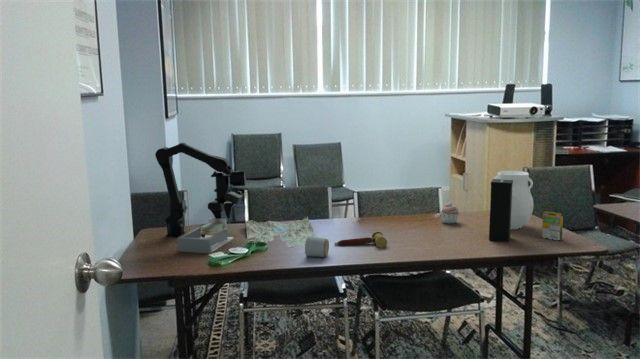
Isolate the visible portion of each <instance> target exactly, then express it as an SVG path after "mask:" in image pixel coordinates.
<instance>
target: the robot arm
mask: <svg viewBox="0 0 640 359" xmlns="http://www.w3.org/2000/svg"><path fill="white" fill-rule="evenodd" d="M181 153H183V154H184V155H187V156H188V157H190V158H194V159H195V160H198V161H200V162H202V163H204V164H206V165H208V167H210V168H211V169H213V170H214V171H213V173H212V174H211V175H210V177H211V178H215V188H214V190H213V192H215V193H216V198H214V200H213V201H210V202H209V203H208V204H207V209H208V210H209V211H210V212H211V213H212V214H213V216H214V218H218V219H222V215H223V212H224V213H225V216H226V219H230V218H231V215H232V211H233V207H234V206H235V205H238V204H240V203H241V201H242V199H244V197H243V192H242V191H240V190H238V191H232V187H246V186H247V177H246V174H245V172H246V171H245V170H236V171H235V170H234V169H233V168H232V167H231V166H230V165H229V164H230V163H229V161H228V159H226V157H222V156H219V155H212V154H209V153H207V152H205V151H204V150H200V149H198V148H196V147H194V146H191V145H189V144H187V143H186V142H180V143H177V145H176V144H175V145H173V146H170V147H167V146H166V147H165V146H164V147H161V148H159V149H157V150H156V152H155V159H156V160H157V164H158V165H159V166H160V168H161V169H162V173H163V177H164V180H165V184H166V189H167V194H168V197H169V201H170V202H169V215H168V216H167V217H166V219H165V222H166V233H167V234H165V237H170V238H171V237H173V238H178V237H180V236H182V235H184V234H186V232H185V229H184V228H185V227H184V224H183V222H184V221H183V220H182V219H183V217H184V216H185V215H186V213H187V210H188V206H187V203H186V199H184V200H183V199H182V198H181V197H180V195H181V194H180V192H179V188H178V184H177V180H176V177H175V172H174V169H173V168H174V167H173V163H174V157H173V156H175V155H178V154H181ZM230 185H231V186H232V187H230Z"/></svg>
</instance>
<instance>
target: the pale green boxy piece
mask: <svg viewBox="0 0 640 359" xmlns="http://www.w3.org/2000/svg"><path fill="white" fill-rule="evenodd" d="M224 229H226V230H227V231H228V225H227V218H221V219H218V218H215V217H209V218H208V223H206V224H204V225H202V226H201V232H200V234H201V237H202V238H204V237H205V235H207V236H213V235H215V234H217V233H218V232H220V231H222V230H224Z"/></svg>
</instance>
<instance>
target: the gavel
mask: <svg viewBox="0 0 640 359" xmlns="http://www.w3.org/2000/svg"><path fill="white" fill-rule="evenodd" d="M372 243H375V245H376V247H377V248H386V247H387V244H388V240H387V238H386V237H385V236H384V234H383V233H382V232H381V231H380V230H375V231H373V232H372V234H371V237H360V238H359V237H358V238H349V239H342V240H338V241H336V242H335V243H334V245H335V246H341V247H344V246H346V245H348V246H357V245H366V244H367V245H368V244H372Z"/></svg>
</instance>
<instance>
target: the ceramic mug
mask: <svg viewBox="0 0 640 359" xmlns="http://www.w3.org/2000/svg"><path fill="white" fill-rule="evenodd" d="M304 244H305V246H304V254H305V256H306V257H311V258H312V257H313V258H314V257H315V258H326V257H327V256H328V255H329V252H330V251H329V250H330V242H329V239H327V238H324V237H318V236H315V237H312V236H308V237H307V239H306V243H304Z"/></svg>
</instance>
